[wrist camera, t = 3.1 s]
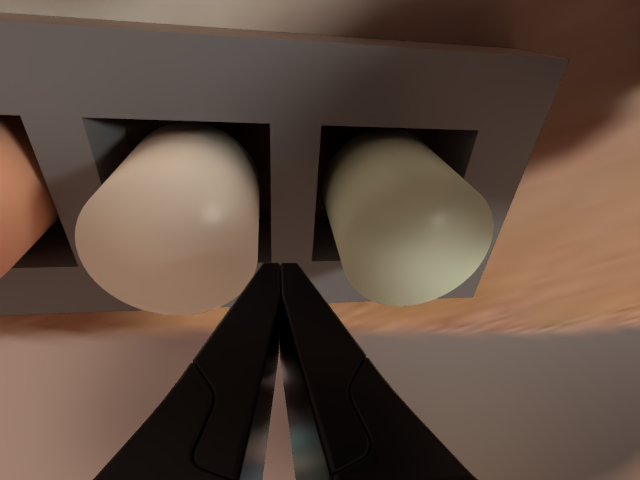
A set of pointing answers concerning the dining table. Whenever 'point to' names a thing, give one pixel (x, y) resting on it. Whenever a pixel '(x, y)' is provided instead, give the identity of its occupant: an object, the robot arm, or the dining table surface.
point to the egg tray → (252, 107)
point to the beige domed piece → (175, 222)
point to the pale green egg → (403, 219)
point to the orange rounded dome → (20, 194)
